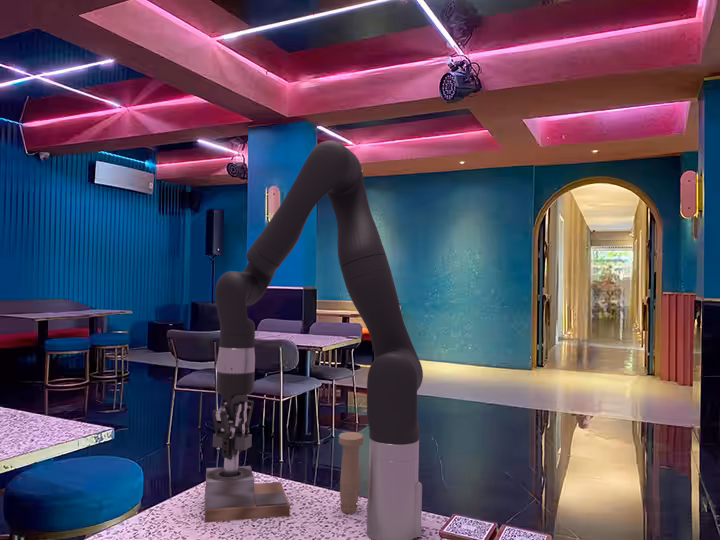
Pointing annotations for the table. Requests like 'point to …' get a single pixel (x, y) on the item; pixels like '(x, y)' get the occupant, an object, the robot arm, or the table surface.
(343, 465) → the handle
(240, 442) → the hammer
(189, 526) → the table surface
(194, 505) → the table surface
